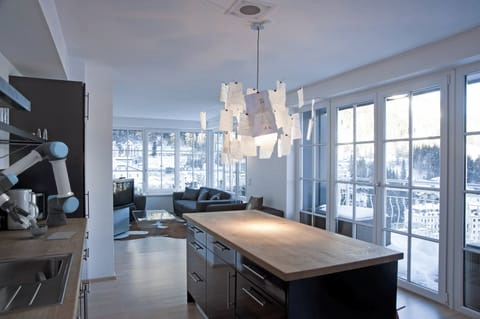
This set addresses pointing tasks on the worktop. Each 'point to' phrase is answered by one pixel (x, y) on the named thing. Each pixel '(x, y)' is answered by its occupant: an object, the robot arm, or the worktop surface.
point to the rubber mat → (60, 235)
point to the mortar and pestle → (37, 229)
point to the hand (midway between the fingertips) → (31, 225)
